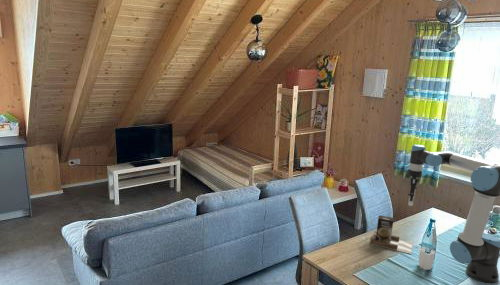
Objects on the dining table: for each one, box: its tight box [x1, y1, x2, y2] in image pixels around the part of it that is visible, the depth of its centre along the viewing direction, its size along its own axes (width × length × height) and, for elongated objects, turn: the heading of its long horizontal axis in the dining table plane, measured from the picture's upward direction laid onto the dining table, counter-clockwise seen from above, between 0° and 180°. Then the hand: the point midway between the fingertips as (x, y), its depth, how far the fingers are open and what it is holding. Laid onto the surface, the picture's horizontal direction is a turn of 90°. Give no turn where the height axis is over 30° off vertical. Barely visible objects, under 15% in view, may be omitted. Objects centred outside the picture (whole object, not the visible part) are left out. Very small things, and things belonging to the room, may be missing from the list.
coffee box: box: [376, 214, 395, 243], centre depth 234 cm, size 9×6×16 cm
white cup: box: [418, 246, 436, 271], centre depth 207 cm, size 8×8×10 cm
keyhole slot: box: [370, 230, 413, 255], centre depth 233 cm, size 16×24×3 cm
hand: (411, 202), depth 232 cm, fingers open, 13 cm apart
